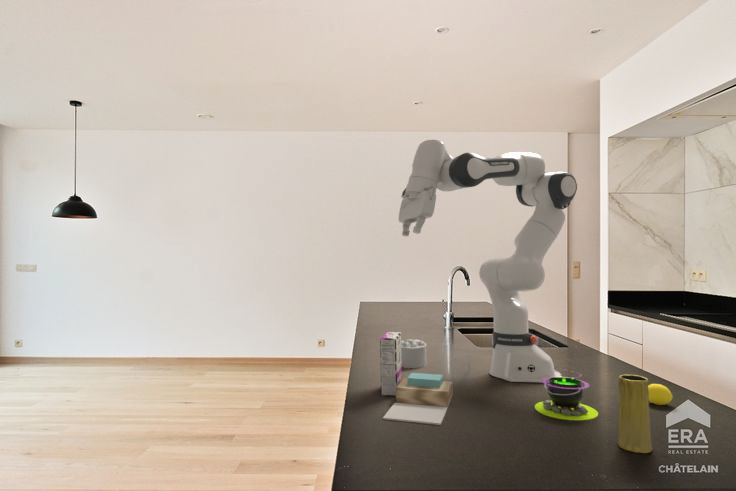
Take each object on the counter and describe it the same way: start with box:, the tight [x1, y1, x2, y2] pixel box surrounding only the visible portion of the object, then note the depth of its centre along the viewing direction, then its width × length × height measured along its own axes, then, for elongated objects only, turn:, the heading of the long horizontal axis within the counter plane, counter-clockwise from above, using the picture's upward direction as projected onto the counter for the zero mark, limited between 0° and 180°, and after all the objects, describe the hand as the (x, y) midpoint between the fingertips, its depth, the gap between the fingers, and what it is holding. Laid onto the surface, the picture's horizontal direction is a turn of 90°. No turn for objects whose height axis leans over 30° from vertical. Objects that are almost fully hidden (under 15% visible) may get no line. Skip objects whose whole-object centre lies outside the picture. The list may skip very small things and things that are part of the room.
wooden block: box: [395, 377, 454, 408], centre depth 128 cm, size 14×10×4 cm
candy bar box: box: [379, 331, 403, 397], centre depth 136 cm, size 11×5×16 cm, turn 168°
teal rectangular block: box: [407, 372, 444, 388], centre depth 129 cm, size 9×6×2 cm, turn 73°
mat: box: [382, 402, 448, 426], centre depth 116 cm, size 14×12×1 cm
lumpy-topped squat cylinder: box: [401, 338, 427, 369], centre depth 169 cm, size 10×13×9 cm
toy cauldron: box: [534, 364, 599, 421], centre depth 118 cm, size 15×15×11 cm
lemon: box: [648, 383, 674, 406], centre depth 122 cm, size 7×5×5 cm
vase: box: [617, 374, 653, 454], centre depth 95 cm, size 6×6×14 cm
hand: (410, 234), depth 138 cm, fingers open, 8 cm apart
